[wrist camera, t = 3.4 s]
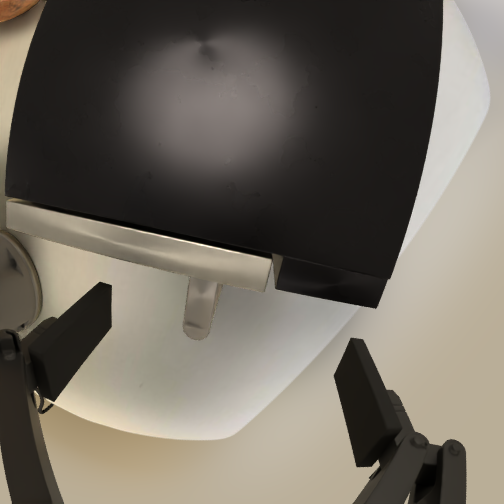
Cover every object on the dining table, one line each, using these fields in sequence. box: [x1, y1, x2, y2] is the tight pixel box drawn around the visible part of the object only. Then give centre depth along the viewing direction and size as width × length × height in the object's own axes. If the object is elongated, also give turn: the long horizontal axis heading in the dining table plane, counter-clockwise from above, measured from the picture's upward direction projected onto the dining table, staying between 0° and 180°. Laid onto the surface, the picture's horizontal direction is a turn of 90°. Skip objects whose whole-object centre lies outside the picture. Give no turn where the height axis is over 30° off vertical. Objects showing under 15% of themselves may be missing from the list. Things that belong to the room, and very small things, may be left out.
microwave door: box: [6, 198, 273, 340], centre depth 22 cm, size 7×15×18 cm, turn 78°
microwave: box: [5, 0, 443, 309], centre depth 19 cm, size 18×20×18 cm
